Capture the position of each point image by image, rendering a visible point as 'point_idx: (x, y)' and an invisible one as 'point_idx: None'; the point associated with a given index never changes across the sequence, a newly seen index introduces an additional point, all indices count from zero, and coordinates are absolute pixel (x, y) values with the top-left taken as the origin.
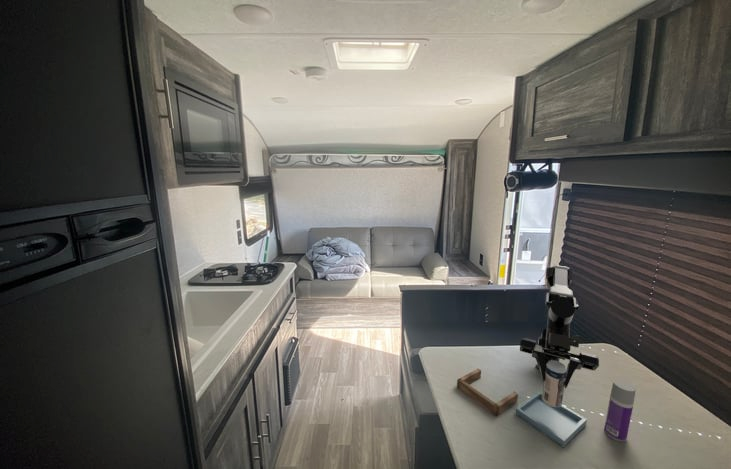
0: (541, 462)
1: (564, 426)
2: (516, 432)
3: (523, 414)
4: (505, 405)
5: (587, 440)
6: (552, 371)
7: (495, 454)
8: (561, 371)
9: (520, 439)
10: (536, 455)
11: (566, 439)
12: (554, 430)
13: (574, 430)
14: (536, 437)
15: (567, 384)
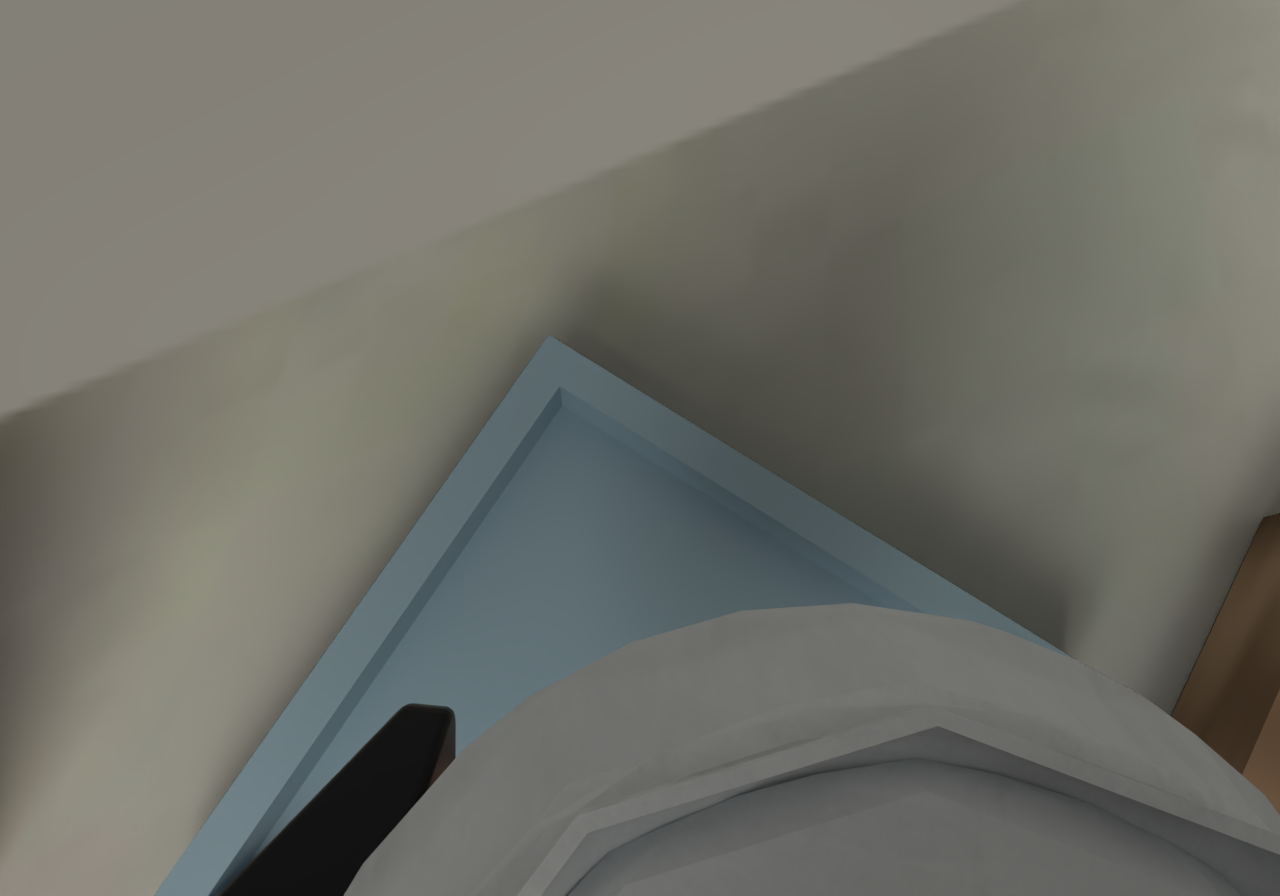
0: (783, 98)
1: (481, 696)
2: (1020, 371)
3: (995, 614)
4: (1237, 687)
5: (253, 603)
6: (1071, 679)
7: (1174, 19)
8: (635, 695)
9: (974, 290)
10: (823, 156)
11: (516, 383)
12: (617, 555)
13: (385, 576)
14: (815, 391)
15: (368, 753)
